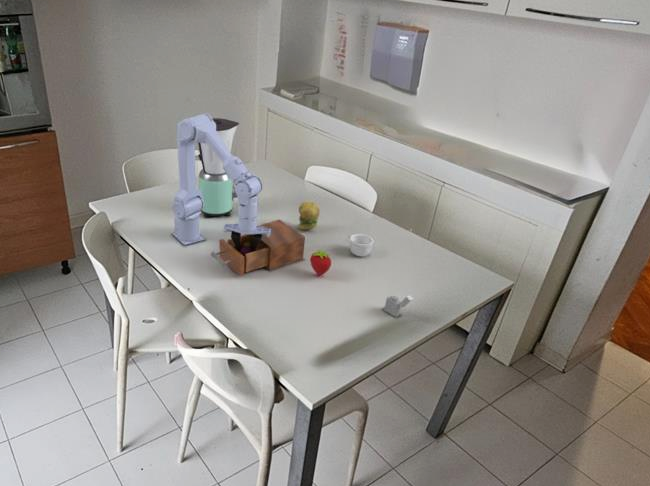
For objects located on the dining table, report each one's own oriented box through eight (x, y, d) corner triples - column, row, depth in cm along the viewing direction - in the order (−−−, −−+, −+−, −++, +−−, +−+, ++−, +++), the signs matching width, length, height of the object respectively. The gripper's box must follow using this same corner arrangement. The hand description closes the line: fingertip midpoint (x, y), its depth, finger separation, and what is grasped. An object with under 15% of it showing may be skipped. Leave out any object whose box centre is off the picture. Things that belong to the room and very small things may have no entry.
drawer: (227, 280, 161) (227, 262, 157) (206, 261, 170) (206, 243, 166) (273, 265, 169) (274, 247, 165) (251, 248, 178) (252, 230, 174)
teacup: (375, 254, 178) (378, 240, 175) (360, 261, 174) (363, 247, 171) (353, 242, 184) (355, 229, 182) (338, 249, 180) (340, 235, 178)
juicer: (233, 202, 210) (235, 114, 191) (240, 217, 199) (243, 125, 180) (186, 205, 206) (183, 116, 187) (191, 221, 195) (188, 128, 176)
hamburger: (310, 223, 196) (314, 194, 189) (321, 232, 190) (325, 202, 184) (293, 227, 193) (295, 197, 186) (303, 236, 187) (306, 206, 181)
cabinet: (269, 270, 168) (270, 247, 163) (245, 251, 178) (246, 228, 173) (302, 259, 174) (305, 236, 170) (278, 241, 184) (279, 219, 179)
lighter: (383, 309, 152) (388, 287, 147) (387, 307, 153) (392, 285, 148) (404, 322, 147) (410, 298, 143) (407, 319, 148) (413, 296, 144)
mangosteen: (237, 254, 170) (237, 241, 168) (250, 252, 172) (250, 239, 169) (241, 261, 167) (242, 248, 164) (254, 259, 168) (255, 246, 166)
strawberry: (318, 284, 162) (321, 256, 157) (304, 272, 167) (307, 245, 162) (333, 279, 164) (337, 251, 159) (319, 267, 170) (322, 241, 165)
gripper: (272, 211, 164) (270, 249, 171) (227, 207, 165) (226, 244, 173) (269, 221, 158) (267, 260, 165) (222, 217, 160) (222, 255, 167)
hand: (246, 253), depth 169 cm, fingers closed on mangosteen, 4 cm apart
